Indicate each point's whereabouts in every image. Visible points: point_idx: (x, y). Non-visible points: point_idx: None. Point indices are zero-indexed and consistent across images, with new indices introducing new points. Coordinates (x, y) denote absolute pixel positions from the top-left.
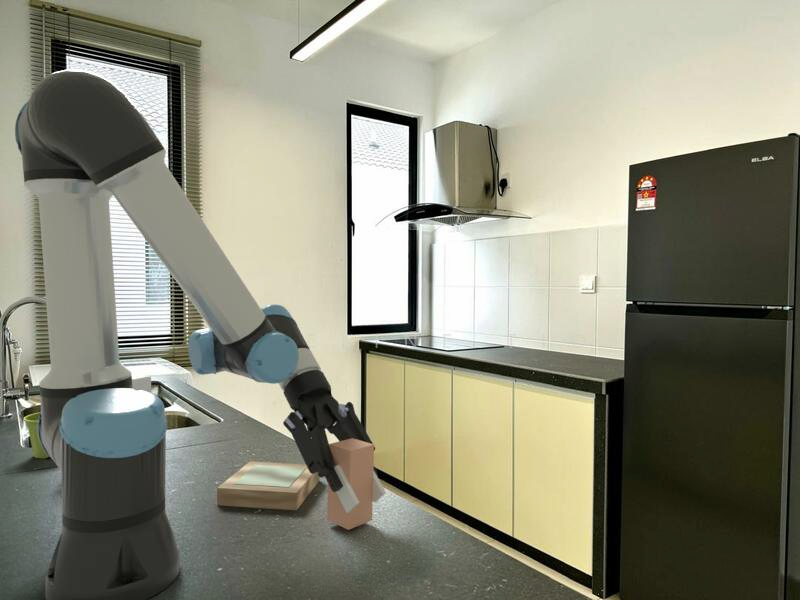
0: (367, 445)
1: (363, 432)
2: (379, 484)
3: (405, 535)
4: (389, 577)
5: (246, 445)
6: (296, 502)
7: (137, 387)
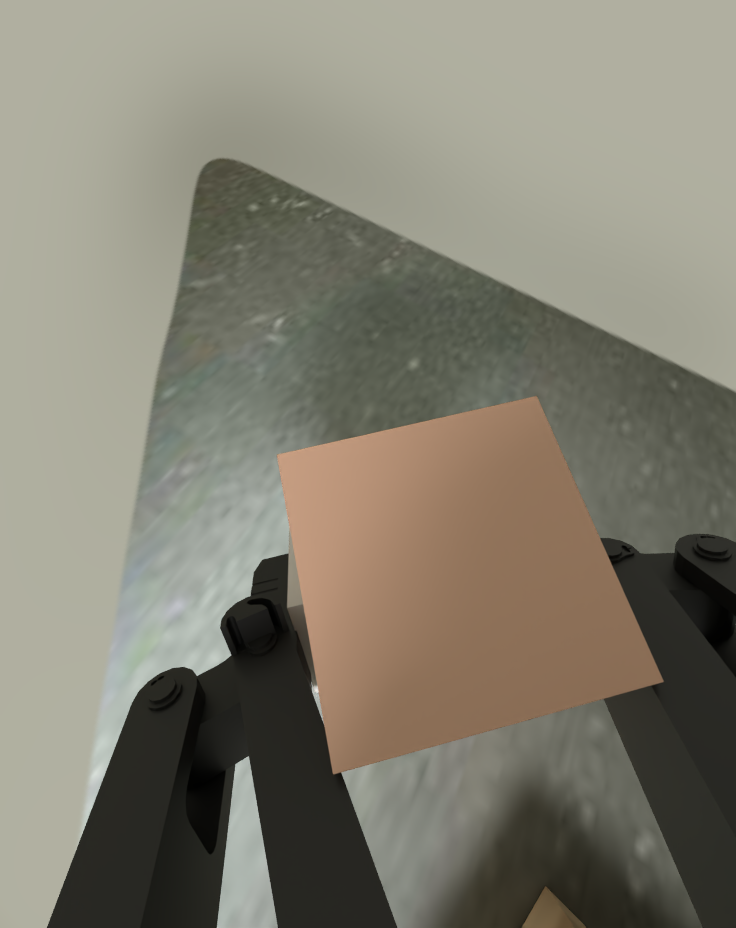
0: (340, 456)
1: (100, 900)
2: None
3: (292, 447)
4: (448, 311)
5: None
6: (562, 908)
7: None
